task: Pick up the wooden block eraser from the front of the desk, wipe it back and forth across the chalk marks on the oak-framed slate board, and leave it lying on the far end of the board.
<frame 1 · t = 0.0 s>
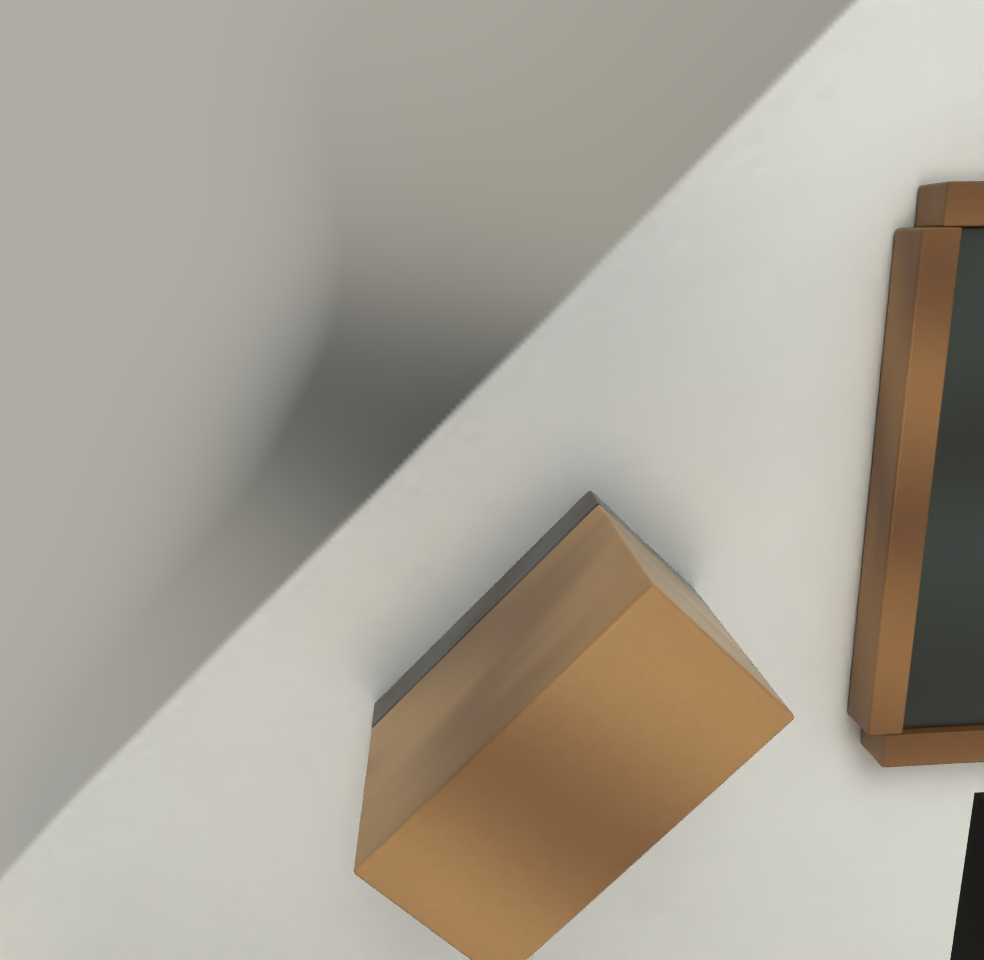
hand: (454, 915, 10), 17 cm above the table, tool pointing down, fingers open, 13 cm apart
eraser: (533, 647, 28), on the table
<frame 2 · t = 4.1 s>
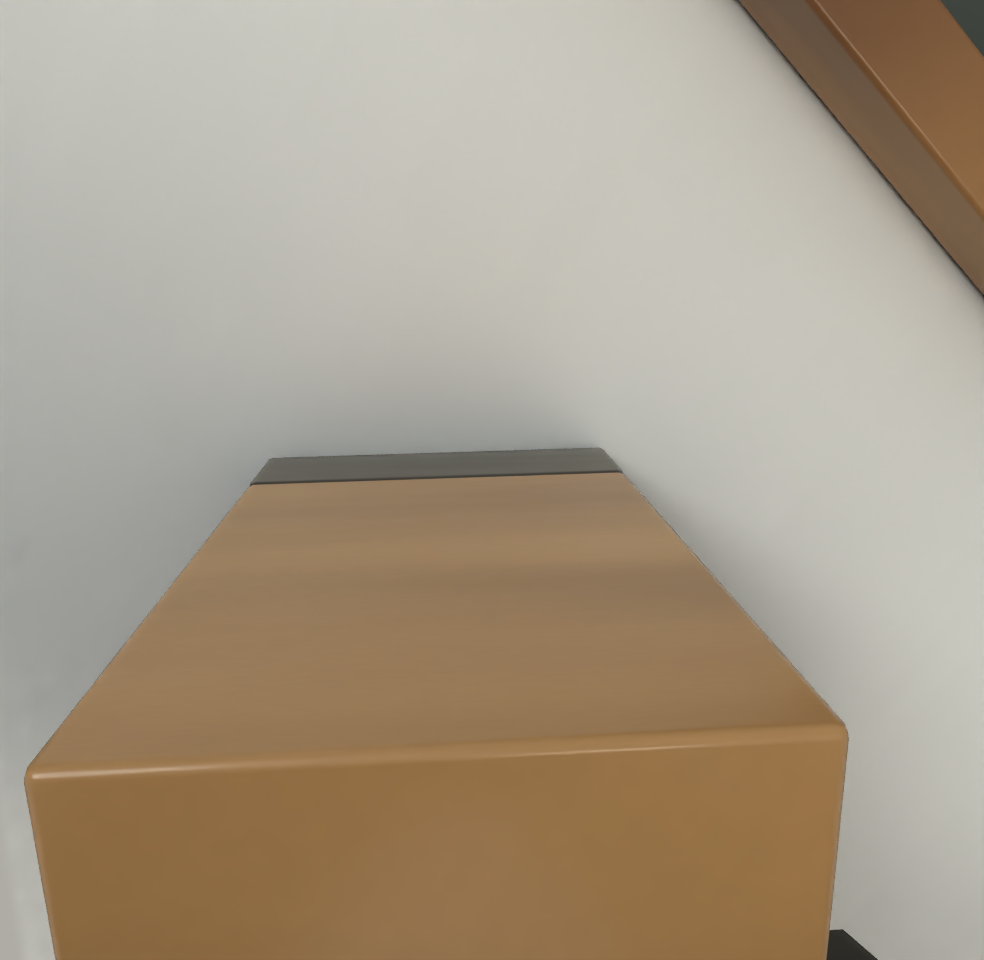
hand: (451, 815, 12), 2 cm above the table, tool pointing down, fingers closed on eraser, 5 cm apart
eraser: (447, 747, 14), on the table, touching gripper
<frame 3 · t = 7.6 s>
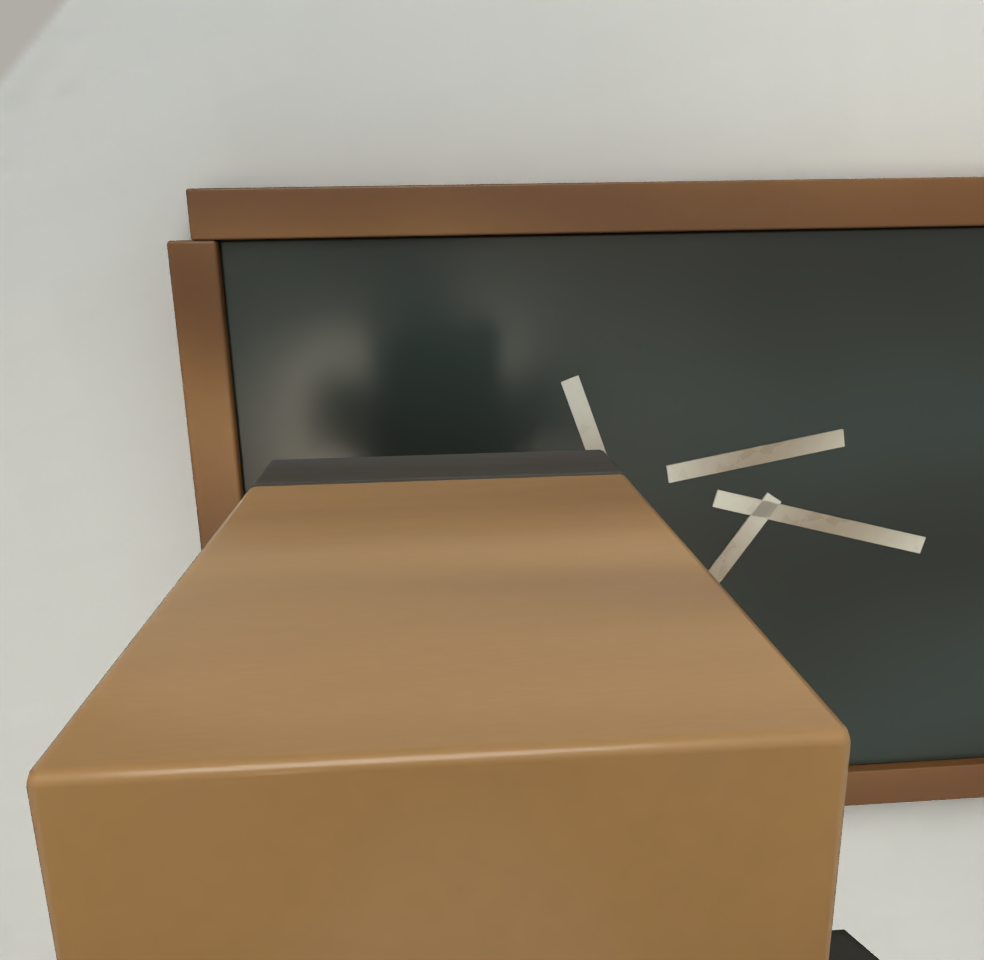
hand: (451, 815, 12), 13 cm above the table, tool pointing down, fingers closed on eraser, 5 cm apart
eraser: (448, 749, 14), point 11 cm above the table, touching gripper
slate board: (703, 513, 25), on the table
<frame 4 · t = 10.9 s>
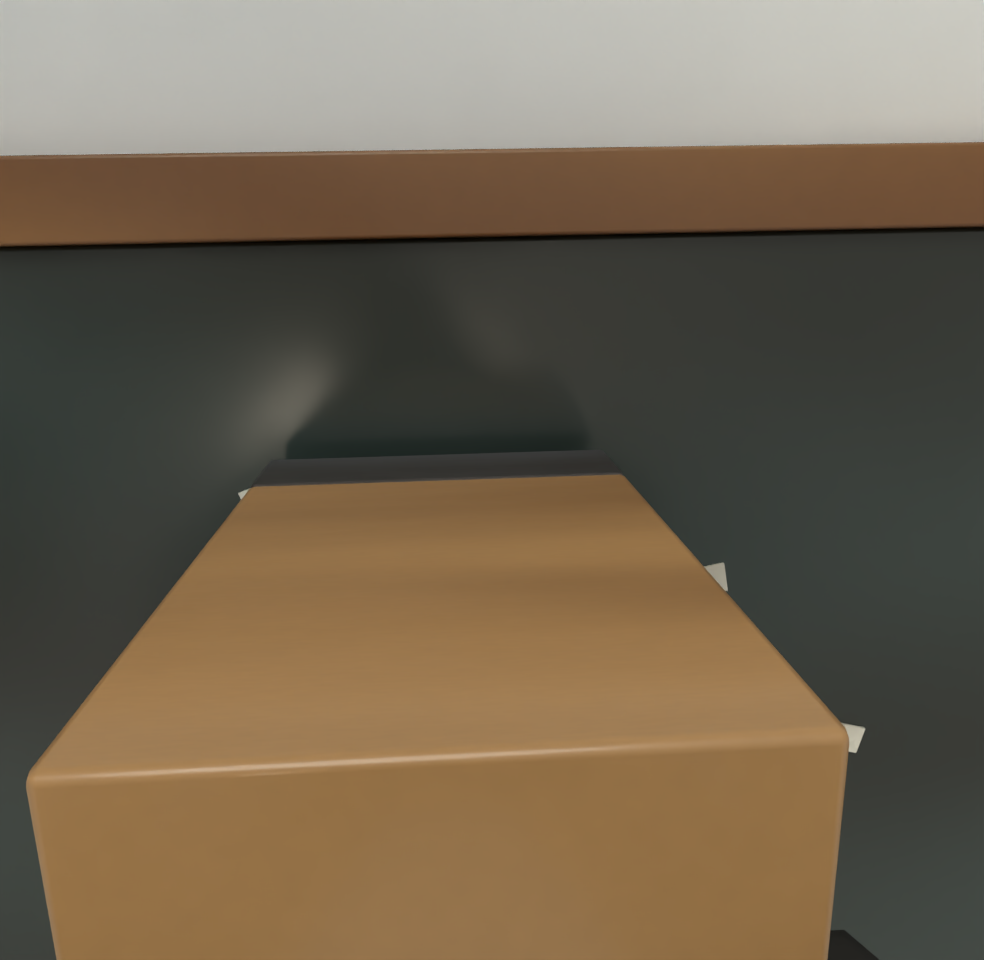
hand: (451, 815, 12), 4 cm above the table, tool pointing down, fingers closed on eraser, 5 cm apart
eraser: (448, 749, 14), point 2 cm above the table, touching gripper
slate board: (515, 682, 16), on the table
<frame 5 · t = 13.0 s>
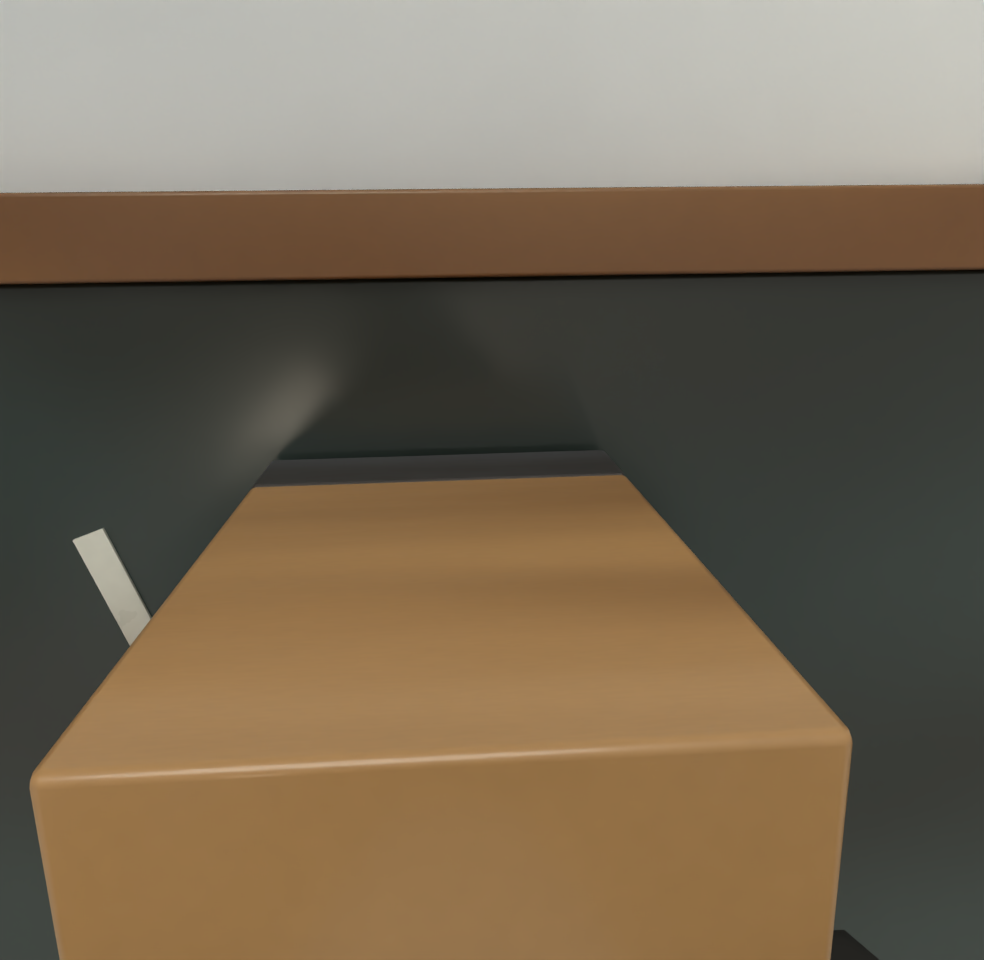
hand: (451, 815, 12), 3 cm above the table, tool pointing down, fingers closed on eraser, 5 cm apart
eraser: (449, 749, 14), point 1 cm above the table, touching gripper
slate board: (383, 730, 15), on the table
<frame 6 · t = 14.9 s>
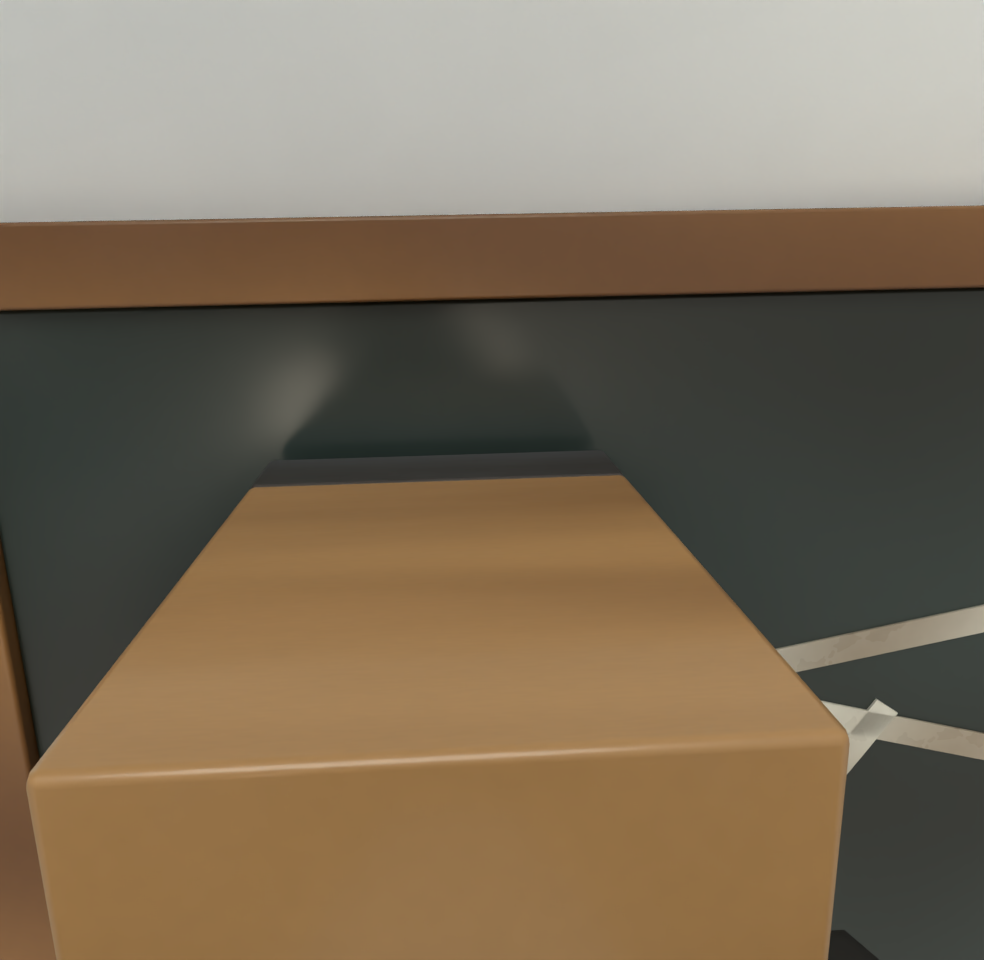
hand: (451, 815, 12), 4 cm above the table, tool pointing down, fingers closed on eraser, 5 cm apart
eraser: (448, 749, 14), point 2 cm above the table, touching gripper
slate board: (768, 714, 16), on the table
when the fingers open (3 cm above the table, at t = 18.1 s): eraser stays where it is, resting on slate board.
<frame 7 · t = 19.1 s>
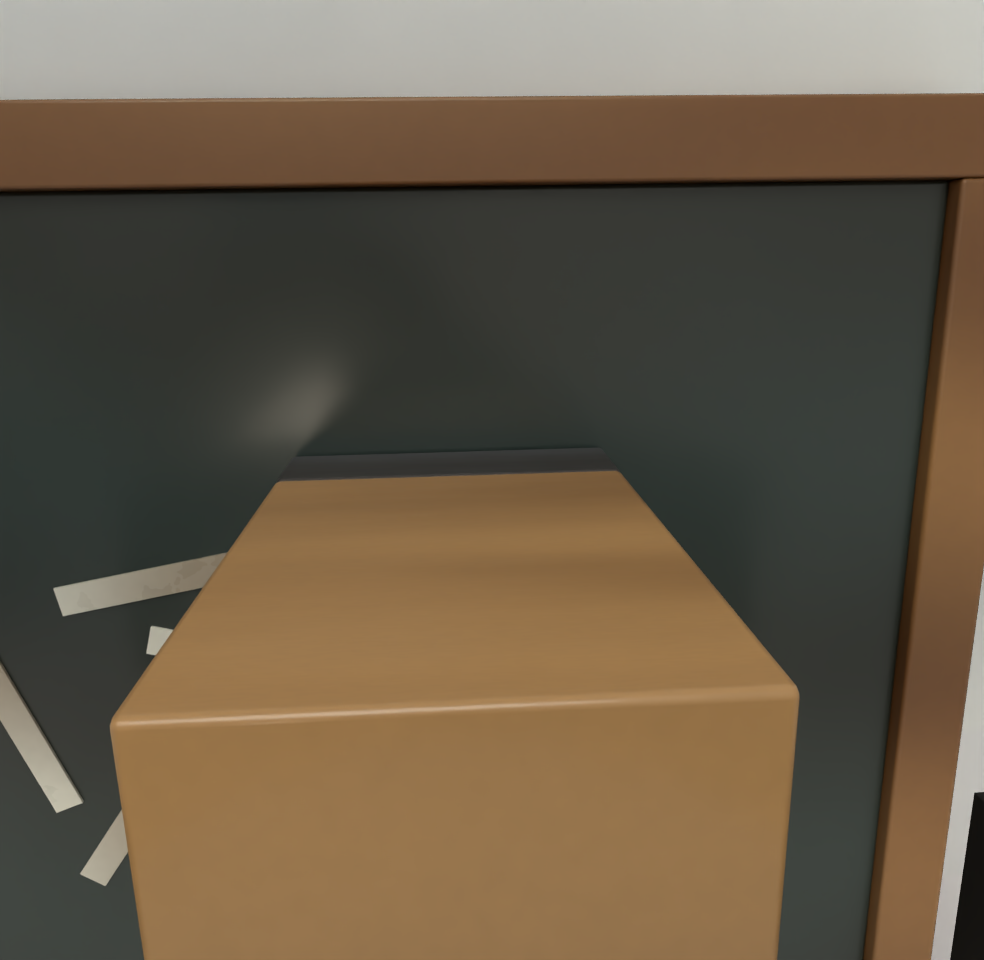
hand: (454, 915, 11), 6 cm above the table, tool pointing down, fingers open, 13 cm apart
eraser: (456, 726, 15), point 1 cm above the table, touching slate board
slate board: (180, 652, 16), on the table
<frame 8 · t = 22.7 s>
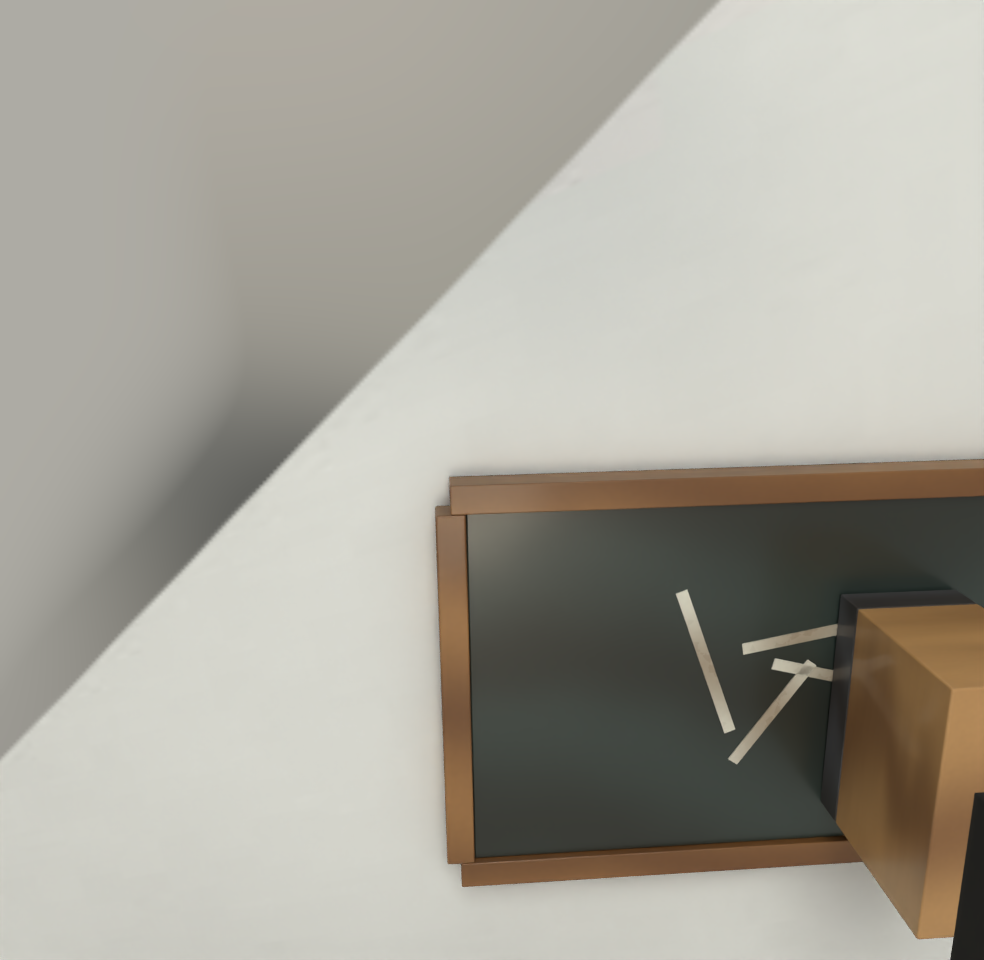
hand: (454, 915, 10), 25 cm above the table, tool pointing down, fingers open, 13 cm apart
eraser: (885, 698, 37), point 1 cm above the table, touching slate board
slate board: (763, 667, 38), on the table
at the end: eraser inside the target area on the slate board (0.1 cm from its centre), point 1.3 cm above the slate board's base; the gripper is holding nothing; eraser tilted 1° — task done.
